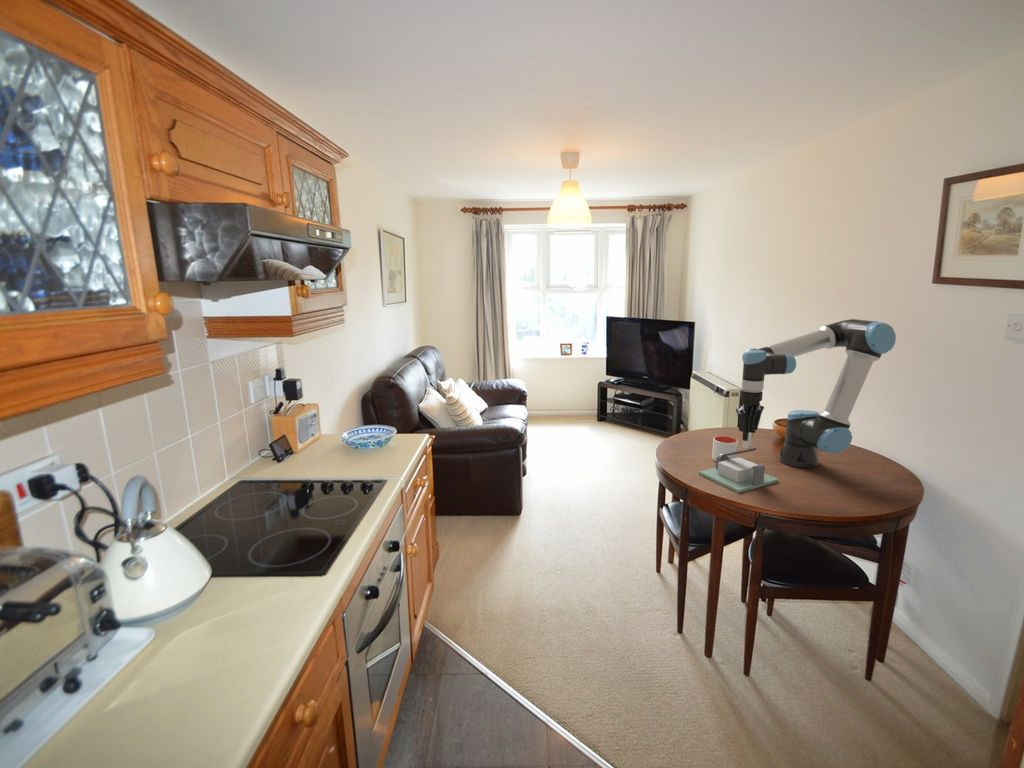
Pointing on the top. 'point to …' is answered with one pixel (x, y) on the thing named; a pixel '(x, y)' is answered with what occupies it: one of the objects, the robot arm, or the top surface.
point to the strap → (736, 452)
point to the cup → (724, 446)
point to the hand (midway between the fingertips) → (746, 447)
